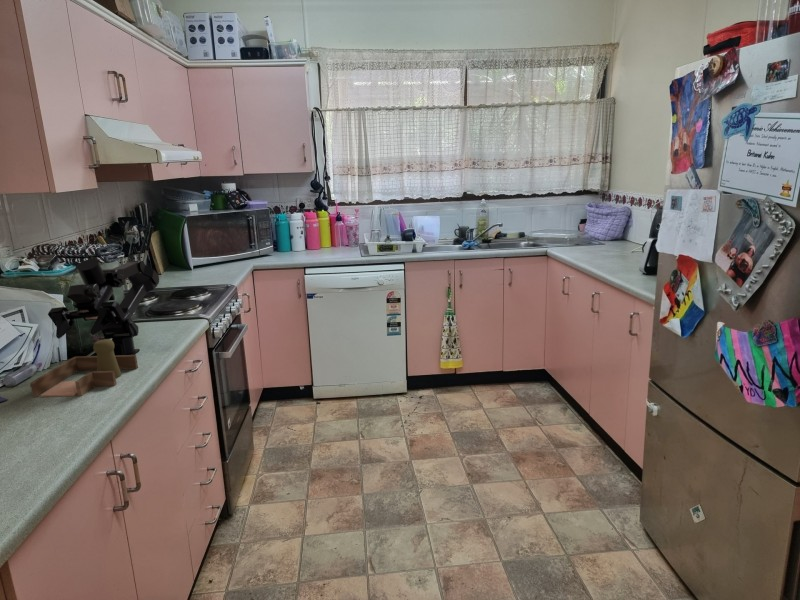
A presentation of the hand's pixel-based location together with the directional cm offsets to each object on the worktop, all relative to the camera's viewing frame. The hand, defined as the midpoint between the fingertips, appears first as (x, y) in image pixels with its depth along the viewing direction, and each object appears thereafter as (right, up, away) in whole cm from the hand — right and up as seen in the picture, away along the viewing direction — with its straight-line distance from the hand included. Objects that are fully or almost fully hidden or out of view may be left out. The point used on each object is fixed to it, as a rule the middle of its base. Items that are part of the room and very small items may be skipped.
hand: (74, 335), depth 140 cm
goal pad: (-3, -15, +3) cm, 15 cm away
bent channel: (0, -13, +7) cm, 15 cm away
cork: (+4, -13, +10) cm, 17 cm away
